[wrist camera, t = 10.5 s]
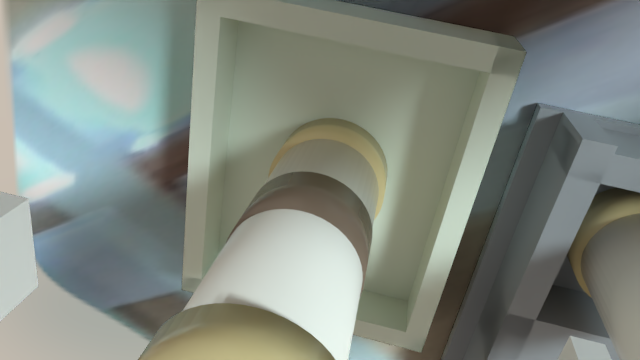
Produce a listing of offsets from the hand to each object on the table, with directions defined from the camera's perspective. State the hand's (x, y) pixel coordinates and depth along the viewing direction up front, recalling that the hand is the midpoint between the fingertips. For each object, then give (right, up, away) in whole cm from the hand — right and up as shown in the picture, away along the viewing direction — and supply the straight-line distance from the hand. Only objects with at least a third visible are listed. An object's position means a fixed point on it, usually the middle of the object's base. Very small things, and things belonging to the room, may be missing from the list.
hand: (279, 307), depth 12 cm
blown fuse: (+1, +3, +7) cm, 8 cm away
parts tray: (+2, +4, +8) cm, 9 cm away
